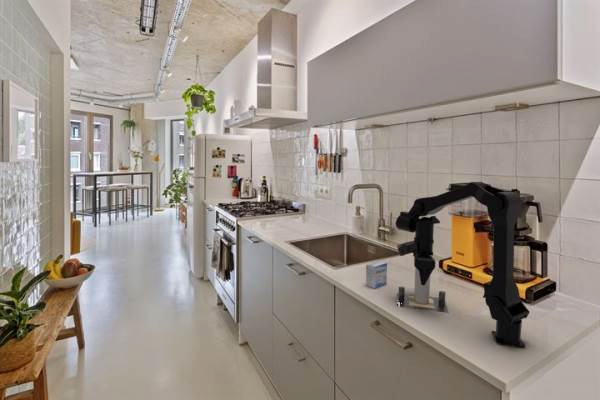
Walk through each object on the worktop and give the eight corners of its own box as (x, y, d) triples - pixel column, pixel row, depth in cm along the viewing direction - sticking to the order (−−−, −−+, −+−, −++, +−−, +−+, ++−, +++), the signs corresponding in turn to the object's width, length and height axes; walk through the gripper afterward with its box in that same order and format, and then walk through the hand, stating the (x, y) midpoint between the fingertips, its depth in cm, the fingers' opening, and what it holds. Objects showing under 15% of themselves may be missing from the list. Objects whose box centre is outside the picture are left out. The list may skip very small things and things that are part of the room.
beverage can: (419, 305, 110) (421, 270, 109) (411, 299, 114) (412, 266, 113) (432, 303, 111) (433, 269, 110) (423, 298, 116) (424, 265, 115)
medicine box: (374, 289, 125) (375, 266, 124) (365, 285, 128) (365, 264, 127) (386, 284, 130) (387, 262, 129) (377, 281, 133) (378, 260, 132)
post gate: (448, 314, 105) (449, 299, 104) (396, 308, 110) (397, 293, 109) (444, 300, 116) (444, 286, 116) (397, 294, 121) (397, 281, 120)
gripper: (399, 228, 122) (398, 269, 123) (398, 239, 104) (396, 287, 106) (431, 230, 118) (429, 272, 120) (436, 242, 101) (434, 291, 102)
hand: (422, 280), depth 112 cm, fingers open, 9 cm apart
